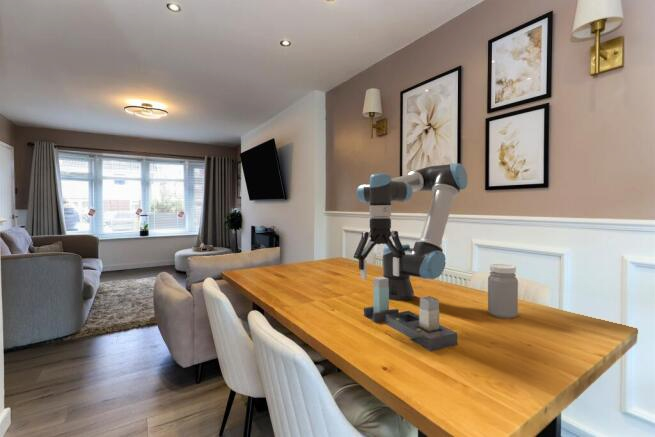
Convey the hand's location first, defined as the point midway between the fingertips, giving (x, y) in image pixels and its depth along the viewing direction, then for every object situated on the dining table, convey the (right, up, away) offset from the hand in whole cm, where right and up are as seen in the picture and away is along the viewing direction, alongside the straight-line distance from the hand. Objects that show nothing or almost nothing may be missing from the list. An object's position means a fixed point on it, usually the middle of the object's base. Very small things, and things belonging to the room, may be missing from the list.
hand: (380, 277), depth 114 cm
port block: (+10, -15, -14) cm, 23 cm away
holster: (0, -15, +1) cm, 15 cm away
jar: (+45, -15, +3) cm, 48 cm away
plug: (0, -14, +1) cm, 14 cm away
